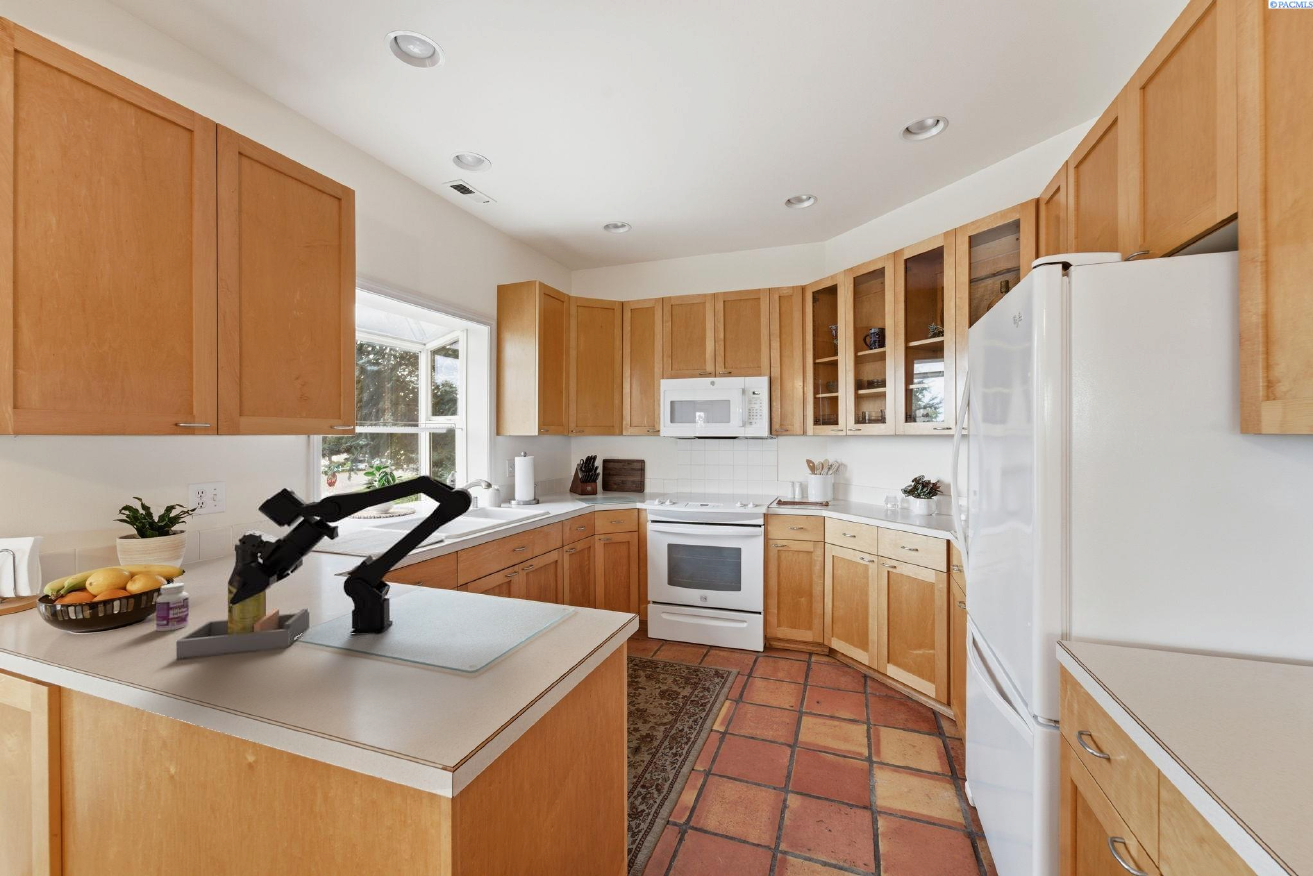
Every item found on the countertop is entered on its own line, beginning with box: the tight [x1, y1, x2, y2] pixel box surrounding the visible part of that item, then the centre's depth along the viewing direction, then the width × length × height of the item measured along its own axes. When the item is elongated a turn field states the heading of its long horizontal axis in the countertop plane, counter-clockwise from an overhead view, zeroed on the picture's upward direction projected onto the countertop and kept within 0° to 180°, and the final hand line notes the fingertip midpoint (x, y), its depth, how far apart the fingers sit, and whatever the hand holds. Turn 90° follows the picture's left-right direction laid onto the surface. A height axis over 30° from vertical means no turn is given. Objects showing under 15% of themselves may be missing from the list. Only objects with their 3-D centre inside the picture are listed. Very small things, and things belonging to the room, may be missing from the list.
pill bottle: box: [155, 582, 190, 632], centre depth 117 cm, size 5×5×10 cm
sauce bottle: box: [227, 541, 267, 635], centre depth 108 cm, size 6×6×20 cm
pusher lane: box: [175, 608, 310, 660], centre depth 107 cm, size 18×12×4 cm, turn 107°
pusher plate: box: [254, 608, 280, 632], centre depth 108 cm, size 1×9×4 cm, turn 17°
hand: (239, 598), depth 107 cm, fingers closed on sauce bottle, 6 cm apart
